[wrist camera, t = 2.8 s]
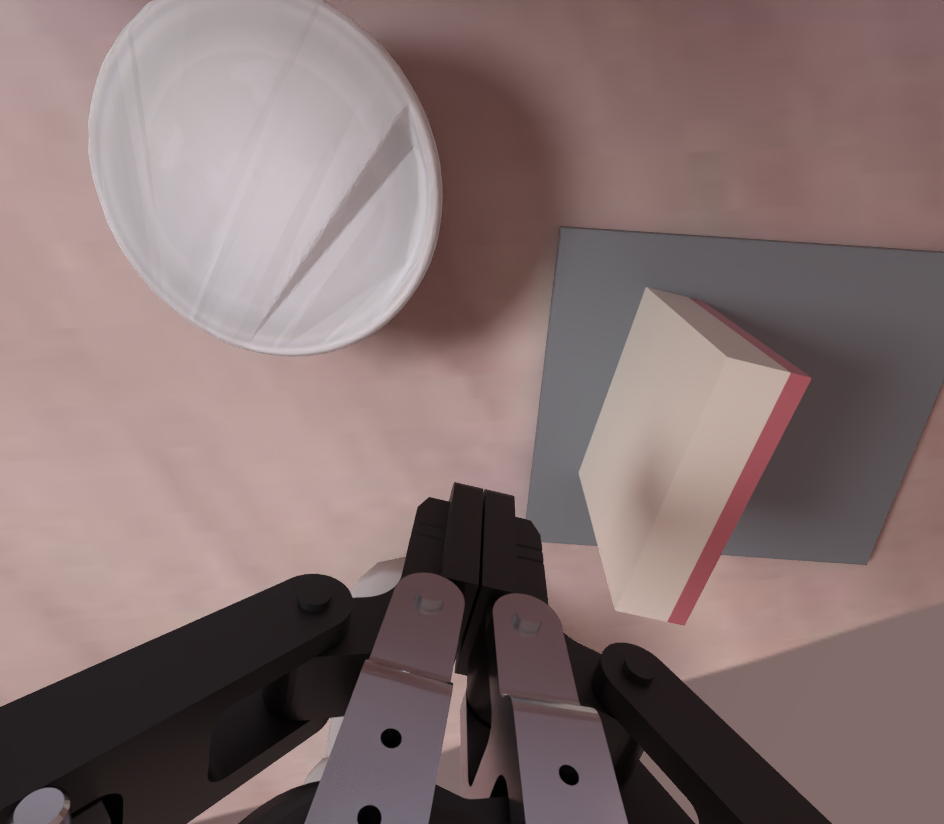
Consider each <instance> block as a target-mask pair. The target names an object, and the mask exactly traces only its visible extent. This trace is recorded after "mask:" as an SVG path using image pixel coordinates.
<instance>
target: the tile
mask: <svg viewBox="0 0 944 824" xmlns="http://www.w3.org/2000/svg"><path fill="white" fill-rule="evenodd" d="M811 379H812V378H811V377H810V376H809V375H807V374H806V373H804V372H803V371H801V370H800V369H799V368H797V367H796V366H794V365H793V364H791V363H790V362H789V361H787V360H786V359H784V358H783V357H782V356H780V355H779V354H777V353H776V352H774V351H773V350H772V349H770V348H769V347H767V346H766V345H764V344H763V343H762V342H760V341H759V340H757V339H756V338H754V337H753V336H752V335H750V334H749V333H747V332H746V331H744V330H743V329H742V328H740V327H739V326H737V325H736V324H734V323H733V322H732V321H730V320H729V319H727V318H726V317H724V316H723V315H722V314H720V313H719V312H717V311H716V310H715V309H713V308H712V307H710V306H709V305H707V304H706V303H705V302H703V301H701V300H697V299H693V298H689V297H685V296H681V295H677V294H673V293H669V292H665V291H661V290H658V289H654V288H650V287H646V288H645V291H644V294H643V297H642V299H641V302H640V305H639V308H638V310H637V313H636V316H635V319H634V321H633V324H632V327H631V330H630V332H629V335H628V338H627V341H626V343H625V346H624V349H623V352H622V355H621V357H620V360H619V363H618V366H617V368H616V371H615V374H614V377H613V379H612V382H611V385H610V388H609V390H608V393H607V396H606V399H605V401H604V404H603V407H602V410H601V412H600V415H599V418H598V421H597V423H596V426H595V429H594V432H593V434H592V437H591V440H590V443H589V445H588V448H587V451H586V454H585V456H584V459H583V462H582V465H581V468H580V470H579V477H580V480H581V484H582V488H583V492H584V495H585V499H586V503H587V507H588V511H589V514H590V518H591V522H592V526H593V529H594V533H595V537H596V541H597V545H598V548H599V552H600V556H601V560H602V564H603V567H604V571H605V575H606V579H607V582H608V586H609V590H610V594H611V598H612V601H613V605H614V609H615V611H619V612H624V613H628V614H633V615H638V616H642V617H647V618H652V619H656V620H661V621H666V622H670V623H675V624H680V625H685V623H686V622H687V620H688V618H689V616H690V614H691V612H692V610H693V608H694V606H695V604H696V602H697V600H698V598H699V596H700V594H701V592H702V590H703V589H704V587H705V585H706V583H707V581H708V579H709V577H710V575H711V573H712V571H713V569H714V567H715V565H716V563H717V561H718V559H719V557H720V556H721V554H722V552H723V550H724V548H725V546H726V544H727V542H728V540H729V538H730V536H731V534H732V532H733V530H734V528H735V526H736V524H737V523H738V521H739V519H740V517H741V515H742V513H743V511H744V509H745V507H746V505H747V503H748V501H749V499H750V497H751V495H752V493H753V491H754V490H755V488H756V486H757V484H758V482H759V480H760V478H761V476H762V474H763V472H764V470H765V468H766V466H767V464H768V462H769V460H770V458H771V457H772V455H773V453H774V451H775V449H776V447H777V445H778V443H779V441H780V439H781V437H782V435H783V433H784V431H785V429H786V427H787V425H788V424H789V422H790V420H791V418H792V416H793V414H794V412H795V410H796V408H797V406H798V404H799V402H800V400H801V398H802V396H803V394H804V392H805V391H806V389H807V387H808V385H809V383H810V381H811Z"/></svg>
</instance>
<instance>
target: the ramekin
mask: <svg viewBox="0 0 944 824" xmlns="http://www.w3.org/2000/svg"><path fill="white" fill-rule="evenodd" d="M88 131H89V144H88V152H89V161H90V166H91V171H92V177H93V181H94V184H95V187H96V191H97V194H98V197H99V200H100V203H101V206H102V209H103V211H104V215H105V217H106V220H107V222H108V225H109V227H110V229H111V231H112V233H113V235H114V237H115V239H116V240H117V242H118V244H119V246H120V247H121V249H122V251H123V252H124V254H125V256H126V257H127V259H128V260H129V262H130V263H131V264H132V266H133V267H134V268H135V270H136V271H137V272H138V274H139V275H140V276H141V277H142V279H143V280H144V281H145V282H146V284H147V285H148V286H149V287H150V288H151V289H152V291H153V292H154V293H156V294H157V295H158V296H159V297H160V298H161V299H162V300H163V301H164V302H165V303H166V304H167V305H169V306H170V307H171V308H172V309H173V310H175V311H176V312H177V313H178V314H180V315H181V316H182V317H183V318H185V319H186V320H187V321H189V322H191V323H192V324H194V325H195V326H197V327H199V328H200V329H202V330H203V331H205V332H207V333H208V334H210V335H212V336H214V337H216V338H218V339H220V340H221V341H223V342H225V343H228V344H230V345H233V346H237V347H240V348H243V349H246V350H250V351H254V352H258V353H263V354H270V355H278V356H312V355H318V354H324V353H328V352H332V351H336V350H339V349H342V348H345V347H347V346H350V345H352V344H355V343H357V342H359V341H361V340H363V339H365V338H367V337H369V336H370V335H372V334H373V333H375V332H376V331H378V330H379V329H381V328H382V327H383V326H385V325H386V324H387V323H388V322H389V321H390V320H391V319H392V318H393V317H394V316H395V315H396V314H397V313H398V312H399V311H400V310H401V309H402V308H403V307H404V306H405V304H406V303H407V302H408V301H409V299H410V298H411V297H412V295H413V294H414V292H415V291H416V289H417V288H418V286H419V285H420V283H421V281H422V280H423V278H424V276H425V274H426V272H427V270H428V268H429V265H430V263H431V260H432V257H433V255H434V252H435V248H436V245H437V240H438V236H439V230H440V224H441V218H442V202H443V187H442V175H441V165H440V160H439V155H438V150H437V146H436V143H435V139H434V136H433V132H432V129H431V126H430V124H429V121H428V118H427V116H426V113H425V111H424V109H423V107H422V105H421V103H420V101H419V99H418V97H417V95H416V93H415V91H414V89H413V88H412V86H411V84H410V82H409V81H408V79H407V78H406V76H405V74H404V73H403V71H402V70H401V68H400V67H399V66H398V64H397V63H396V62H395V61H394V59H393V58H392V57H391V56H390V54H389V53H388V52H387V51H386V50H385V49H384V47H383V46H382V45H381V44H380V43H379V42H378V41H377V40H376V39H375V38H374V37H373V36H372V35H370V34H369V33H368V32H367V31H366V30H365V29H364V28H362V27H361V26H360V25H359V24H358V23H356V22H355V21H354V20H353V19H351V18H350V17H348V16H347V15H345V14H344V13H342V12H341V11H340V10H338V9H337V8H335V7H333V6H332V5H330V4H328V3H327V2H325V1H323V0H153V1H151V2H149V3H147V4H146V5H145V6H144V7H143V8H142V10H141V11H140V12H139V13H138V14H137V15H136V16H135V17H134V18H133V19H132V20H131V21H130V22H129V23H128V24H127V25H126V26H125V28H124V29H123V30H122V31H121V33H120V34H119V36H118V37H117V39H116V40H115V42H114V44H113V46H112V47H111V49H110V51H109V52H108V54H107V55H106V57H105V59H104V62H103V64H102V67H101V69H100V72H99V75H98V78H97V81H96V85H95V89H94V92H93V96H92V102H91V108H90V113H89V123H88Z"/></svg>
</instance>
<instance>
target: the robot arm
mask: <svg viewBox="0 0 944 824" xmlns="http://www.w3.org/2000/svg"><path fill="white" fill-rule="evenodd" d="M455 660H456V664H455V673H457V674H462V675H467V689H466V692H465V695H464V698H463V701H462V704H461V709H460V732H461V797H460V796H458V795H456V794H454V793H452V792H450V791H448V790H446V789H444V788H442V787H440V786H438V785H436V779H437V774H438V768H439V762H440V757H441V751H442V746H443V740H444V735H445V729H446V724H447V718H448V712H449V707H450V701H451V696H452V689H453V683H451V677H452V672H453V666H454V663H455ZM334 717H344V718H343V721H342V724H341V726H340V729H339V732H338V734H337V737H336V740H335V742H334V745H333V748H332V751H331V753H330V756H329V759H328V761H327V764H326V767H325V769H324V772H323V775H322V777H321V780H320V781H316V782H311V783H308V784H305V785H302V786H299V787H296V788H293V789H291V790H288V791H286V792H284V793H282V794H280V795H278V796H276V797H274V798H273V799H271V800H270V801H268V802H266V803H265V804H263V805H261V806H260V807H259V808H258V809H256V810H255V811H253V812H252V813H251V814H250V815H248V816H247V817H246V818H245V819H243V820H242V821H241V822H240V823H238V824H695V823H694V822H693V821H692V820H691V818H690V817H689V816H688V815H687V814H686V813H685V812H684V810H683V809H682V808H681V807H680V806H679V805H678V804H677V802H676V801H675V800H674V799H673V798H672V797H671V796H670V795H669V793H668V792H667V791H666V790H665V789H664V788H663V787H662V785H661V784H660V783H659V782H658V781H657V780H656V779H655V777H654V776H653V775H652V774H651V773H650V772H649V771H648V769H647V768H646V767H645V766H644V765H643V764H642V763H641V762H640V760H639V759H640V757H641V756H642V754H643V752H644V751H645V752H646V753H647V754H648V755H649V756H650V757H651V759H652V760H653V761H654V762H655V763H656V764H657V765H658V766H659V767H660V768H661V770H662V771H663V772H664V773H665V774H666V775H667V776H668V777H669V779H671V781H672V782H673V783H674V784H675V785H676V786H677V788H678V789H679V790H680V791H681V792H682V793H683V794H684V795H685V796H686V797H687V799H688V800H689V801H690V802H691V804H692V805H693V807H694V809H695V811H696V813H697V816H698V819H699V824H832V823H831V822H830V821H828V820H827V819H826V818H825V817H824V816H823V815H822V814H821V813H820V812H819V811H818V810H817V809H816V808H815V807H814V806H813V805H812V804H811V803H810V802H809V801H808V800H806V799H805V798H804V797H803V796H802V795H801V794H800V793H799V792H798V791H797V790H796V789H795V788H794V787H793V786H792V785H791V784H789V782H788V781H787V780H785V779H784V778H783V777H782V776H781V775H780V774H779V773H778V772H777V771H776V770H775V769H774V768H773V767H772V766H771V765H770V764H769V763H768V762H767V761H765V760H764V759H763V758H762V757H761V756H760V755H759V754H758V753H757V752H756V751H755V750H754V749H753V748H752V747H751V746H750V745H749V744H748V743H747V742H745V741H744V740H743V739H742V738H741V737H740V736H739V735H738V734H737V733H736V732H735V731H734V730H733V729H732V728H731V727H730V726H728V725H727V724H726V723H725V722H724V721H723V720H722V719H721V718H720V717H719V716H718V715H717V714H716V713H715V712H714V711H713V710H712V709H711V708H710V707H709V706H708V705H707V704H705V703H704V702H703V701H702V700H701V699H700V698H699V697H698V696H697V695H696V694H695V693H694V692H693V691H692V690H691V689H690V688H689V687H688V686H687V685H686V684H684V683H683V682H682V681H681V680H680V679H679V678H678V677H677V676H676V675H675V674H674V673H673V672H672V671H671V670H670V669H669V668H668V667H667V666H666V665H664V664H663V663H662V662H661V661H660V660H659V659H658V658H657V657H656V656H654V655H653V654H652V653H650V652H649V651H647V650H645V649H643V648H641V647H639V646H636V645H633V644H629V643H614V644H611V645H609V646H607V647H606V648H605V649H604V651H603V653H602V654H600V653H598V652H596V651H594V650H591V649H589V648H587V647H585V646H583V645H581V644H579V643H577V642H576V641H574V640H572V639H571V638H569V637H568V636H567V635H566V634H564V633H563V629H562V625H561V622H560V619H559V617H558V616H557V614H556V613H555V611H554V610H553V609H552V608H551V607H550V606H548V597H547V588H546V579H545V570H544V564H543V553H542V544H541V535H540V533H539V532H538V530H537V529H536V527H535V526H534V524H533V523H532V521H531V520H527V519H522V518H518V517H515V500H514V496H512V495H508V494H504V493H499V492H495V491H491V490H487V489H485V490H484V492H483V489H482V488H478V487H473V486H469V485H465V484H460V483H456V482H454V484H453V488H452V491H451V495H450V499H449V502H448V501H444V500H439V499H435V498H431V497H429V498H428V499H426V500H425V501H424V502H423V503H422V504H421V505H420V506H418V508H417V512H416V516H415V521H414V525H413V529H412V533H411V537H410V541H409V546H408V550H407V554H406V558H405V562H404V567H403V571H402V575H401V578H400V580H399V582H398V583H397V585H396V586H395V587H394V588H392V589H391V590H389V591H388V592H386V593H383V594H380V595H377V596H372V597H354V598H352V595H351V592H350V591H349V589H348V588H347V587H346V586H345V585H344V584H343V583H342V582H340V581H338V580H337V579H335V578H332V577H330V576H326V575H321V574H305V575H300V576H296V577H293V578H291V579H289V580H286V581H284V582H282V583H280V584H277V585H275V586H273V587H271V588H268V589H266V590H264V591H262V592H259V593H257V594H255V595H252V596H250V597H248V598H246V599H243V600H241V601H239V602H237V603H234V604H232V605H230V606H228V607H225V608H223V609H221V610H219V611H216V612H214V613H212V614H210V615H207V616H205V617H203V618H200V619H198V620H196V621H194V622H191V623H189V624H187V625H185V626H182V627H180V628H178V629H176V630H173V631H171V632H169V633H167V634H164V635H162V636H160V637H158V638H155V639H153V640H151V641H148V642H146V643H144V644H142V645H139V646H137V647H135V648H133V649H130V650H128V651H126V652H124V653H121V654H119V655H117V656H115V657H112V658H110V659H108V660H106V661H103V662H101V663H99V664H96V665H94V666H92V667H90V668H87V669H85V670H83V671H81V672H78V673H76V674H74V675H72V676H69V677H67V678H65V679H63V680H60V681H58V682H56V683H54V684H51V685H49V686H47V687H44V688H42V689H40V690H38V691H35V692H33V693H31V694H29V695H26V696H24V697H22V698H20V699H17V700H15V701H13V702H11V703H8V704H6V705H4V706H1V707H0V824H187V823H188V822H190V821H191V820H193V819H194V818H195V817H197V816H198V815H200V814H201V813H203V812H204V811H205V810H207V809H208V808H210V807H211V806H213V805H214V804H215V803H217V802H218V801H220V800H221V799H222V798H224V797H225V796H227V795H228V794H230V793H231V792H232V791H234V790H235V789H237V788H238V787H240V786H241V785H242V784H244V783H245V782H247V781H248V780H250V779H251V778H252V777H254V776H255V775H257V774H258V773H260V772H261V771H262V770H264V769H265V768H267V767H268V766H270V765H271V764H272V763H274V762H275V761H277V760H278V759H280V758H281V757H282V756H284V755H285V754H287V753H288V752H290V751H291V750H292V749H294V748H295V747H297V746H298V745H300V744H301V743H302V742H304V741H305V740H307V739H308V738H309V737H311V736H312V735H314V734H315V733H317V732H318V731H319V730H320V729H322V728H323V726H324V725H325V724H326V723H327V721H328V719H329V718H334Z"/></svg>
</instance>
